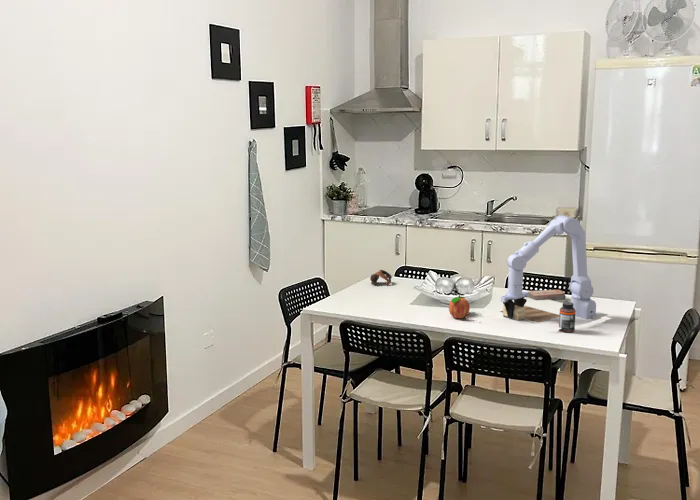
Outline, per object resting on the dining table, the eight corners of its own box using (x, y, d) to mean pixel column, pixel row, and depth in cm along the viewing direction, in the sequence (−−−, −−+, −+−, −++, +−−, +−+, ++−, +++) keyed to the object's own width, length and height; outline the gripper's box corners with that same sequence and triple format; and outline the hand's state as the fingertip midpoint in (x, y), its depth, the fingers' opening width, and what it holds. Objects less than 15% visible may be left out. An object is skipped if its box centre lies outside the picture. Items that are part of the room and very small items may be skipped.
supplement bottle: (563, 327, 276) (564, 300, 274) (577, 330, 272) (579, 302, 270) (555, 331, 272) (557, 302, 270) (570, 334, 268) (571, 305, 266)
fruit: (473, 317, 291) (474, 294, 289) (461, 322, 284) (461, 298, 282) (456, 313, 296) (456, 290, 295) (443, 318, 289) (444, 294, 288)
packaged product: (557, 287, 324) (568, 292, 314) (557, 297, 325) (568, 303, 315) (521, 289, 320) (531, 294, 310) (521, 299, 321) (531, 305, 311)
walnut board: (562, 319, 287) (562, 315, 287) (537, 326, 278) (537, 322, 278) (524, 308, 303) (524, 305, 303) (499, 314, 294) (499, 311, 294)
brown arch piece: (377, 282, 357) (385, 268, 354) (388, 293, 351) (397, 279, 349) (362, 280, 348) (370, 266, 345) (374, 291, 342) (382, 277, 340)
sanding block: (524, 319, 282) (525, 308, 282) (518, 320, 280) (518, 309, 279) (509, 314, 289) (510, 303, 288) (503, 316, 287) (503, 305, 286)
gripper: (519, 279, 289) (518, 311, 292) (495, 284, 281) (494, 317, 283) (533, 283, 284) (531, 315, 286) (508, 288, 275) (507, 321, 278)
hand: (513, 316), depth 284 cm, fingers closed on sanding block, 4 cm apart
